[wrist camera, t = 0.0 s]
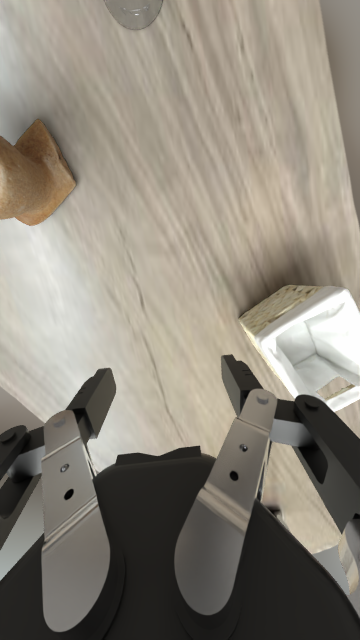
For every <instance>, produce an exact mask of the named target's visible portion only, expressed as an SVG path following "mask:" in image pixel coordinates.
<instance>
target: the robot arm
mask: <svg viewBox="0 0 360 640" xmlns="http://www.w3.org/2000/svg"><path fill="white" fill-rule="evenodd" d="M104 1H105V3H106V6H107V8H108V10H109V11H110V13H111V14H112V16H113V17H114V18H115V19H116V20H117V21H118V22H119V23H120V24H121V25H123V26H124V27H127V28H129V29H136V30H138V29H142V28H145V27H146V26H148V25H150V24H151V23H152V21H153V20H154V19H155V18H156V16H157V14H158V13H159V11H160V8H161V5H162V1H163V0H104ZM221 368H222V379H223V383H224V385H225V388H226V390H227V393H228V395H229V398H230V400H231V403H232V405H233V408H234V410H235V412H236V415H237V417H238V418H237V417H236V418H235V419H234V421H233V423H232V425H231V428H230V430H229V432H228V434H227V437H226V439H225V441H224V443H223V446H222V448H221V450H220V452H219V455H218V457H217V459H216V458H214V457H212V456H210V455H207V454H203V453H201V450H200V446H193V447H184V448H178V449H176V450H173V451H171V452H168V453H166V454H163V455H161V456H154V455H148V454H143V453H131V454H122V455H118V456H117V460H116V463H115V464H113V465H111V466H109V467H107V468H106V469H104V470H103V471H101V472H100V473H99V474H96V471H95V468H94V465H93V462H92V459H91V456H90V452H89V449H88V446H87V442H88V440H89V439H95V438H97V437H98V434H99V432H100V430H101V427H102V425H103V422H104V420H105V418H106V415H107V413H108V411H109V408H110V406H111V403H112V401H113V399H114V396H115V394H116V384H115V381H114V377H113V374H112V370H111V368H103V369H98V370H97V372H96V373H95V375H94V376H93V377H91V378H89V379H88V380H87V381H86V382H85V383H84V384H83V386H82V387H81V389H80V390H79V391H78V393H77V394H76V395H75V397H74V398H73V400H72V401H71V403H70V404H69V405H68V407H67V408H66V410H64V411H61V412H59V413H57V414H55V415H54V416H52V417H51V418H50V419H49V420H48V421H47V422H46V423H45V425H44V426H43V427H40V428H37V429H34V430H31V431H28V429H27V428H26V426H24V425H20V426H16V427H13V428H11V429H9V430H7V431H5V432H4V433H2V434H1V435H0V480H1V479H2V478H3V476H4V475H5V473H7V475H8V476H9V477H8V479H7V480H6V482H5V483H4V485H3V486H2V487H1V489H0V550H1V548H2V546H3V545H4V543H5V541H6V539H7V537H8V536H9V534H10V532H11V530H12V528H13V526H14V525H15V523H16V521H17V519H18V517H19V515H20V514H21V512H22V510H23V508H24V507H25V505H26V503H27V501H28V499H29V497H30V495H31V494H32V492H33V490H34V488H35V487H36V485H37V483H38V481H39V479H40V478H41V476H42V492H43V514H44V533H43V534H42V536H41V537H40V538H39V539H38V540H37V541H36V542H35V543H34V544H33V545H32V547H31V548H30V549H29V550H28V551H27V552H26V553H25V554H24V555H23V556H22V558H21V559H20V560H19V561H18V562H17V563H16V564H15V565H14V566H13V568H12V569H11V570H10V571H9V572H8V573H7V574H6V575H5V577H3V579H2V580H1V581H0V640H360V439H359V438H358V437H357V436H356V435H355V434H354V433H353V431H352V430H351V429H350V428H349V427H348V426H347V425H346V424H345V423H344V422H343V421H342V420H341V419H340V418H339V417H338V416H337V415H336V414H335V413H334V412H333V411H332V410H331V409H330V408H329V407H328V405H327V404H326V403H324V402H323V401H322V400H320V399H319V398H317V397H314V396H311V395H306V394H302V395H298V396H297V397H296V398H295V402H294V401H287V400H281V399H277V398H276V397H275V395H274V394H272V393H271V392H269V391H267V390H264V389H263V387H262V386H261V385H260V383H259V382H258V380H257V379H256V377H255V376H254V375H253V373H252V371H251V370H250V369H249V367H248V366H247V364H245V363H244V362H242V361H236V360H235V358H234V356H233V355H232V354H231V355H223V356H221ZM273 442H277V443H282V444H287V445H291V446H292V448H293V449H294V451H295V453H296V455H297V456H298V458H299V460H300V462H301V463H302V465H303V467H304V469H305V470H306V472H307V474H308V476H309V478H310V479H311V481H312V483H313V485H314V486H315V488H316V490H317V492H318V493H319V495H320V497H321V499H322V500H323V502H324V504H325V506H326V508H327V509H328V511H329V513H330V515H331V516H332V518H333V520H334V522H335V523H336V525H337V527H338V529H339V530H340V532H341V534H342V536H341V539H340V541H339V545H338V553H339V558H340V561H341V564H342V566H343V569H344V571H345V573H346V576H347V579H348V583H349V589H350V595H346V594H345V593H344V591H343V590H342V589H341V587H340V586H339V585H338V583H337V582H336V581H335V579H334V578H333V577H332V576H331V575H330V573H329V572H328V571H327V570H326V569H325V568H324V567H323V566H322V565H321V564H320V563H319V562H318V561H317V560H316V559H315V558H314V557H313V556H312V555H311V553H310V552H309V551H308V550H307V549H306V548H305V547H304V546H303V545H302V544H301V543H300V542H299V541H298V540H297V539H296V538H295V537H294V536H293V535H292V534H291V533H290V532H289V531H288V530H287V529H286V528H285V527H284V525H282V523H281V522H280V521H279V520H278V519H277V518H276V517H275V516H274V515H273V514H272V513H271V512H270V511H269V510H268V509H267V508H266V507H265V506H264V505H263V504H262V503H261V502H262V497H263V492H264V486H265V480H266V474H267V468H268V463H269V458H270V453H271V448H272V443H273Z"/></svg>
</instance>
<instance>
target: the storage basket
mask: <svg viewBox="0 0 360 640" xmlns="http://www.w3.org/2000/svg"><path fill="white" fill-rule="evenodd" d="M243 317H244V318H243ZM239 322H240V323H241V325H242V327H243V329H244V331H245V332H246V334H247V336H248V337H249V338H250V339H251V342H252V344H253V345H254V346H255V348H256V350H257V351H258V352H259V353H260V354H261V356H262V358H263V359H264V360H265V361H266V363H267V364H268V366H269V367H270V368H271V369H272V371H273V372H274V374H275V375H276V376H277V377H278V378H279V380H281V381H282V383H283V384H284V385H285V386H286V388H287V389H288V391H289V392H290V393H291V395H292V396H293V397H294V399H295V398H296V397H297V396H298V395H302V394H306V395H311V396H314V397H317V398H319V399H320V400H322V401H323V402H324V403H326V404H327V405H328V407H329V408H330V409H331V410H332V411H333V412H335V411H337V410H339V409H341V408H343V407H345V406H347V405H349V404H351V403H353V402H355V401H357V400H359V399H360V312H359V310H358V308H357V306H356V303H355V301H354V300H353V298H352V296H351V294H350V292H349V290H348V289H346V288H343V287H335V286H323V287H321V286H318V287H315V286H304V285H303V286H302V285H300V286H298V285H296V286H295V285H287V286H284V287H282V288H281V289H279V290H278V291H277V292H275V293H274V294H272V295H271V296H269V297H268V298H266V299H265V300H263V301H262V302H260V303H259V304H258V305H256V306H255V307H253V308H252V309H251V310H249V311H247V312H246V313H245V314H243V315H242V316H241V317H240V318H239ZM337 377H342V378H344V379H345V380H346V381H348V382H349V383H351V385H349V386H347V387H346V388H342V389H341V390H340V391H339V392H336V393H335V394H332V395H331V396H329V397H327V398H326V399H324V398H323V397H321V396H320V395H319V394H318V393H317V391H318V390H320V389H321V388H322V387H323V386H325V385H326V384H328V383H329V382H331V381H332V380H334V379H335V378H337Z"/></svg>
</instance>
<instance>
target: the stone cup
mask: <svg viewBox="0 0 360 640" xmlns="http://www.w3.org/2000/svg"><path fill="white" fill-rule="evenodd" d="M75 186H76V182H75V181H74V179H73V176H72V172H71V171H70V169H69V167H68V166H67V163H66V161H65V160H64V158H63V156H62V153H61V151H60V149H59V147H58V145H57V144H56V142H55V140H54V139H53V137H52V135H51V134H50V132H49V131H48V130H47V128H46V126H45V125H44V123H43V122H42V121H41V120H39V119H37V120H36V121H35V122H34V123H33V124H32V125H31V126H30V127H29V128H28V129H27V131H26V132H25V133H24V134H23V135H22V136H21V137H20V138H19V140H18V141H17V143H16V144H15V145H14V146H12V145H11V144H10V143H9V142H8V141H7V140H5V139H4V138H3V137H1V136H0V219H8V218H13V217H15V218H16V219H18V220H19V221H21V222H23V223H25V224H27V225H29V226H33V225H37V224H39V223H41V222H43V221H44V220H45V219H47V218H48V217H49V216H50V215H51V214H52V213H53V212H54V211H55V209H56V208H57V207H58V206H59V205H60V204H61V203H62V202H63V200H64V199H65V198H66V197H67V196H68V195H69V193H70V192H71V191H72V190H73V189H74V187H75Z"/></svg>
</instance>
